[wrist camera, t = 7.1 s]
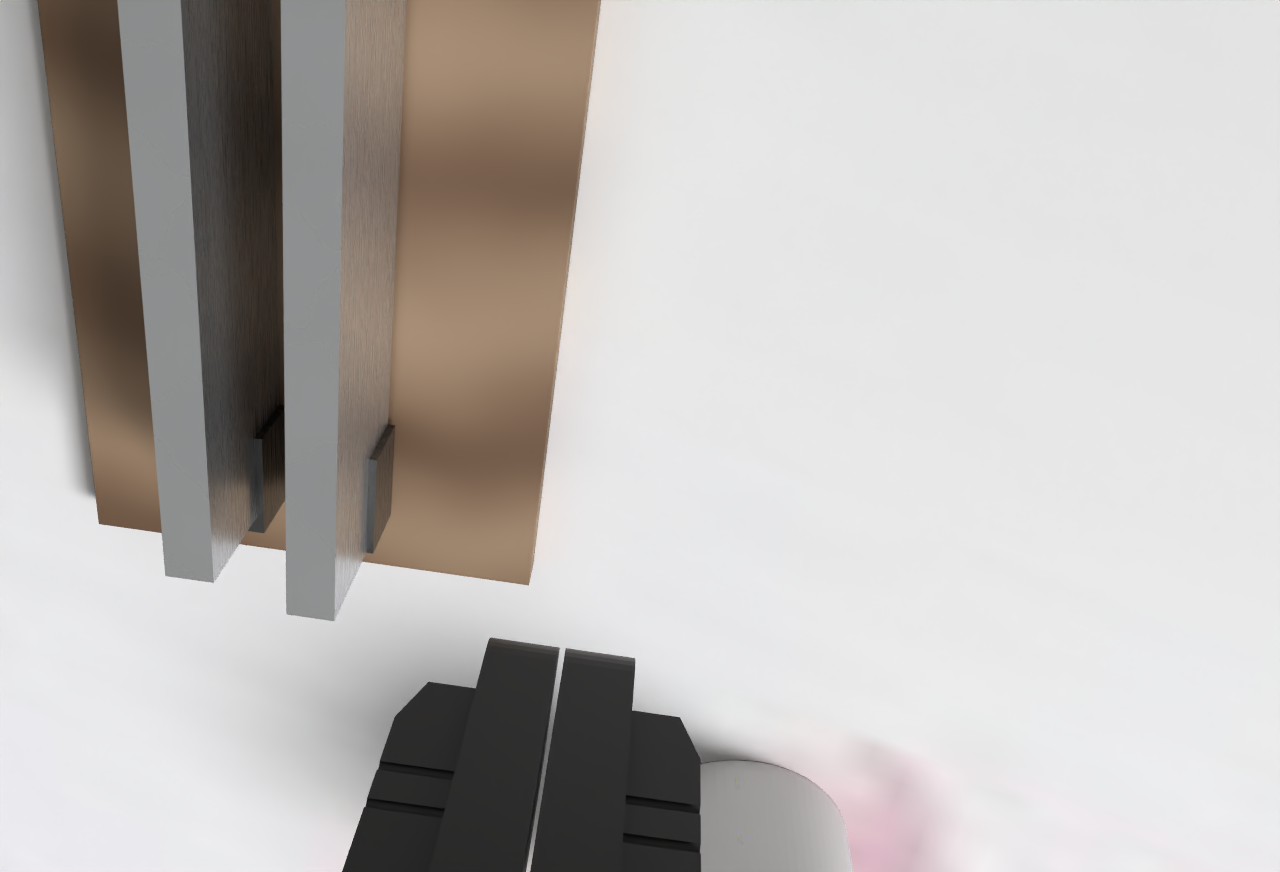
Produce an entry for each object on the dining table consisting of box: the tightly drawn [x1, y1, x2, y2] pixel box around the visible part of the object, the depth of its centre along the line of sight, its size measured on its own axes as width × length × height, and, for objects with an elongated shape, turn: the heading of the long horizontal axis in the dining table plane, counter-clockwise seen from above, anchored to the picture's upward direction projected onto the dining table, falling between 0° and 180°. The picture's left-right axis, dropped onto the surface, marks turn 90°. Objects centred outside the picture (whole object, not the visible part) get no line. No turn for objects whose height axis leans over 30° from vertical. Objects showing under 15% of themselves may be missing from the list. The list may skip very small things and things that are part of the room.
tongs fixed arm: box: [117, 0, 285, 583], centre depth 23 cm, size 24×4×6 cm, turn 172°
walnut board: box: [38, 0, 601, 585], centre depth 26 cm, size 26×13×1 cm, turn 172°
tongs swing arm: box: [281, 0, 407, 621], centre depth 24 cm, size 20×2×5 cm, turn 171°
